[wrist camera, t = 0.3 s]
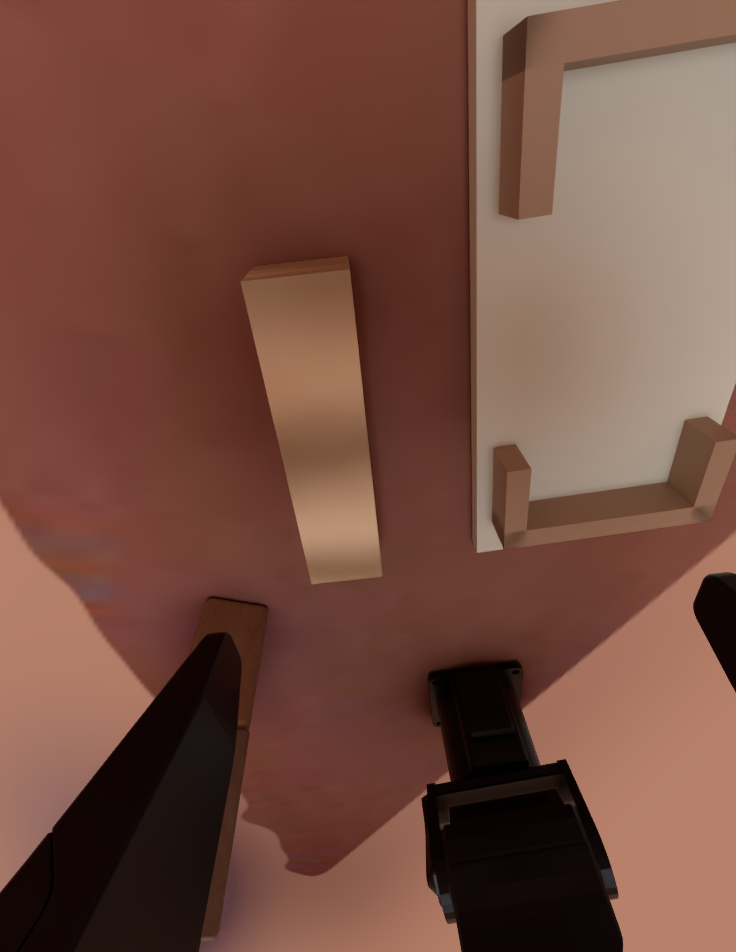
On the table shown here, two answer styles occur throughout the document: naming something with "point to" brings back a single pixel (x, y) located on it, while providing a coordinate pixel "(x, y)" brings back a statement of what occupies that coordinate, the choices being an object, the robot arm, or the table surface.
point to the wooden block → (248, 638)
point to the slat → (318, 409)
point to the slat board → (600, 265)
